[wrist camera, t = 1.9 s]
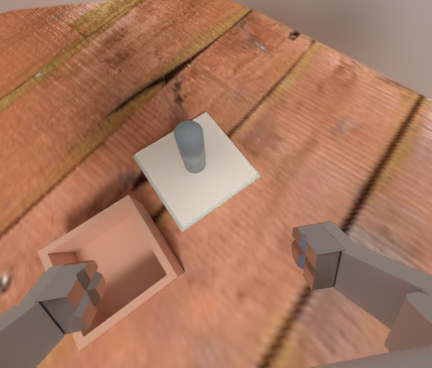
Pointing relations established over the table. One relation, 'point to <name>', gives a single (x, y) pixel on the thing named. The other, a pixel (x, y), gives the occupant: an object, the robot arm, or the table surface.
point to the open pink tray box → (117, 261)
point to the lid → (195, 167)
